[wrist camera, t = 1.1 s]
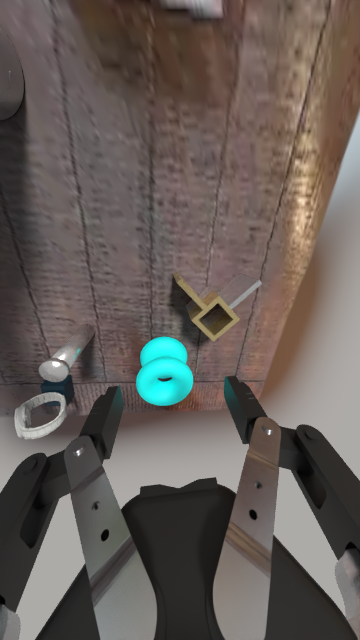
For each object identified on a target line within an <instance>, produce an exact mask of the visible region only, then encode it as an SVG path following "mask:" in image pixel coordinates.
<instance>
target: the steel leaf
mask: <svg viewBox="0 0 360 640" xmlns="http://www.w3.org/2000/svg"><path fill="white" fill-rule="evenodd" d="M261 284H262V283H261V281H260V280H259V279H256V278H253V277H250V276H247V275H245V274H242V273H239V274H238V275H237V276H235V277H234V278H233V279H232V280H231V281H230V282H229V283H228V284H227V285H225V286H224V287H223V288H222V289H221V290H220V291H219V292H218V293H217V294H218V295H219V296H220V297H221V298H222V299H223V301H224V302H225V303H226V304H227V305H228V306H229V308H230V309H231V310H232V309H233V308H234V307H235V306H236V305H237V304H239V303H240V302H241V301H242V300H243V299H244V298H246V297H247V296H248V295H249V294H250V293H251V292H253V291H254V290H255V289H256V288H257V287H258V286H260V285H261ZM211 291H212V289H211V288H210V287H208V286H206V287H205V288H204V289H203V290H202V291H201V292H200V293H199V294H198V296H199V297H200V298H201V300H202V299H203V298H204V297H206V296H207V295H208V294H209V293H210V292H211ZM196 305H197V303H196V302H195V301H194V300H193V299H192V300H191V301H190V302H189V303H188V304H187V305H186V306H185V307H186V309H187V311H188V312H189V311H190V310H191V309H192V308H193V307H195V306H196ZM224 313H225V310H224V309H223V308H222V307H221V306H220V305H219V307H218V308H217V309H216V310H214V311H213V312H212V313H211V314H210V315H209V316H208V317H206V318H205V319H203V318H202V317H201V318H200V319H201V320H202V321H203V322H204V323H205V324H206V325H207V326H208V327H209V326H210V325H211V324H213V323H214V322H215V321H216V320H217V319H218V318H220V317H221V316H222V315H223V314H224Z"/></svg>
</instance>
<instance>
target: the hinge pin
mask: <svg viewBox="0 0 360 640" xmlns="http://www.w3.org/2000/svg"><path fill="white" fill-rule="evenodd" d="M94 334H95V329H94V328H93V327H92V326H91V325H88V324H85V325H82V326H81V327H80V328H79V329H78V330H77V331H76V332H75V333H74V334H73V335H72V337H71V338H70V339H69V340H68V341H67V342H66V343H65V344H64V345H63V346H62V347H61V348H60V349H59V350H58V351H57V352H56V353H55V354H54V355H53V357H52V358H50V359H47V360H46V361H44V362H43V363H42V364H41V366H40V367H39V373H40V375H41V376H42V377H43V378H44V379H46V380H48V381H51V382H60V381H63V380H64V379H65V378H66V377H67V375H68V374H69V372H70V367H71V366H72V365H73V363H74V362H75V360H76V359H77V358H78V356H79V355H80V353H81V352H82V351H83V349H84V348H85V346H86V345H87V344H88V342H89V341H90V340H91V338H92V337H93V335H94Z"/></svg>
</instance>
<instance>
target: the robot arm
mask: <svg viewBox="0 0 360 640" xmlns="http://www.w3.org/2000/svg"><path fill="white" fill-rule="evenodd" d="M23 93H24V79H23V74H22V68H21V65H20V62H19V59H18V56H17V53H16V51H15V49H14V47H13V45H12V43H11V41H10V39H9V38H8V36H7V34H6V33H5V31H4V30H3V28H2V27H1V26H0V120H4V119H8V118H9V117H11V116H12V115H14V114H15V112H16V111H17V110H18V109H19V107H20V104H21V102H22V99H23ZM224 397H225V401H226V403H227V406H228V408H229V410H230V413H231V415H232V418H233V420H234V422H235V425H236V428H237V430H238V433H239V435H240V438H241V440H242V443H243V444H249V449H248V451H247V455H246V459H245V462H244V466H243V470H242V474H241V479H240V482H239V486H238V491H237V494H236V493H235V492H233V491H232V490H230V489H229V488H227V487H225V486H222V485H219V484H217V480H216V477H215V478H207V479H199V480H196V481H194V482H192V483H190V484H188V485H186V486H184V487H181V488H174V487H169V486H165V485H160V484H159V485H151V486H144V487H141V488H140V494H139V495H137V496H135V497H134V498H132V499H131V500H130V501H129V502H127V503H126V504H125V506H123V508H122V509H121V510H120V507H119V505H118V502H117V500H116V497H115V495H114V492H113V490H112V488H111V485H110V483H109V480H108V478H107V475H106V473H105V470H104V468H103V466H102V464H103V460H104V459H110V456H111V453H112V448H113V445H114V441H115V438H116V434H117V430H118V426H119V423H120V419H121V415H122V412H123V398H122V393H121V389H120V386H113V387H108V389H107V391H106V394H105V395H101V396H100V397H99V398H98V399H97V400H96V401H95V403H94V405H93V407H92V409H91V411H90V414H89V416H88V418H87V420H86V422H85V424H84V426H83V428H82V431H81V433H80V435H79V437H78V438H76V439H74V440H73V441H72V442H71V443H70V444H69V445H68V446H67V448H66V449H65V450H63V451H61V452H59V453H57V454H54V455H51V456H49V457H47V456H46V455H45V454H44V453H36V454H33V455H31V456H30V457H28V458H27V459H25V460H24V461H23V462H22V463H21V464H20V465H19V466H18V467H17V468H16V470H15V471H14V473H13V475H12V476H11V477H10V479H9V480H8V482H7V484H6V485H5V487H4V488H3V490H2V492H1V493H0V640H18V639H19V634H20V619H19V617H18V615H17V614H16V613H15V612H16V609H17V607H18V604H19V602H20V599H21V596H22V594H23V591H24V589H25V586H26V583H27V581H28V578H29V576H30V573H31V571H32V568H33V565H34V563H35V560H36V558H37V555H38V553H39V550H40V547H41V545H42V542H43V539H44V537H45V534H46V532H47V529H48V527H49V524H50V521H51V519H52V516H53V514H54V511H55V508H56V506H57V503H58V501H59V498H61V497H62V496H65V495H67V494H69V493H70V494H71V500H72V504H73V509H74V513H75V518H76V523H77V527H78V531H79V536H80V540H81V545H82V549H83V554H84V559H85V564H84V566H83V568H82V569H81V571H80V572H79V573H78V575H77V577H76V578H75V580H74V581H73V583H72V584H71V586H70V587H69V589H68V590H67V592H66V593H65V595H64V596H63V598H62V600H61V601H60V602H59V604H58V606H57V607H56V609H55V610H54V612H53V613H52V615H51V616H50V618H49V619H48V621H47V622H46V624H45V626H44V627H43V628H42V630H41V632H40V633H39V634H38V636H37V637H36V639H35V640H360V481H359V479H358V478H357V477H356V476H355V475H354V474H353V472H352V471H351V470H350V468H349V467H348V466H347V465H346V463H345V462H344V461H343V459H342V458H341V457H340V456H339V454H338V453H337V452H336V451H335V449H334V448H333V447H332V446H331V444H330V443H329V442H328V441H327V440H326V438H325V437H324V436H323V434H322V433H321V432H319V431H318V430H317V429H315V428H313V427H311V426H309V425H299V426H298V427H297V429H296V430H294V429H289V428H285V427H281V426H279V425H278V424H277V423H276V422H275V421H273V420H272V419H270V418H268V417H267V415H266V413H265V412H264V410H263V409H262V407H261V405H260V404H259V402H258V401H257V399H256V397H255V396H254V394H253V392H252V391H251V389H250V388H249V386H247V385H246V384H245V383H244V382H240V383H239V381H238V379H237V377H236V376H227V377H225V383H224ZM279 467H282V468H286V469H290V470H291V471H292V473H293V475H294V477H295V479H296V481H297V483H298V485H299V487H300V489H301V490H302V492H303V494H304V496H305V498H306V500H307V502H308V504H309V506H310V508H311V509H312V512H313V513H314V515H315V517H316V519H317V521H318V523H319V525H320V527H321V529H322V531H323V533H324V534H325V536H326V538H327V540H328V542H329V544H330V546H331V548H332V550H333V551H334V553H335V556H336V557H337V559H338V562H337V563H336V566H335V576H336V581H337V584H338V587H339V589H340V591H341V594H342V597H343V600H344V604H345V610H346V618H345V616H344V615H343V613H342V612H341V611H340V609H339V608H338V607H337V605H336V604H335V603H334V601H333V600H332V599H331V598H330V597H329V596H328V595H327V593H325V591H324V590H323V589H322V588H321V587H320V586H319V585H318V583H316V581H315V580H314V579H313V578H312V577H311V576H310V575H309V574H308V572H307V571H306V570H305V569H304V568H303V567H302V566H301V565H300V563H299V562H298V561H297V560H296V559H295V558H294V557H293V556H292V555H291V553H290V552H289V551H288V550H287V549H286V548H285V547H284V546H283V545H282V544H281V542H280V541H279V540H278V539H277V538H276V537H275V536H274V535H273V532H274V521H275V510H276V498H277V487H278V476H279Z"/></svg>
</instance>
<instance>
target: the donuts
mask: <svg viewBox="0 0 360 640" xmlns="http://www.w3.org/2000/svg"><path fill="white" fill-rule="evenodd" d="M140 362H141V365H142V368H141V370H140V371H139V373H138V375H137V379H136V387H137V391H138V393H139V395H140V396H141V397H142V398H143V399H144V400H145V401H147V402H149V403H151V404H154V405H158V406H168V405H173V404H175V403H178V402H180V401H181V400H183V399H184V398H185V397H186V396H187V395H188V394H189V392H190V391H191V389H192V386H193V375H192V372H191V370H190V368H189V367H188V366H187V365H186V362H187V352H186V349H185V347H184V346H183V344H182V343H181V342H179V341H178V340H176V339H174V338H171V337H158V338H155V339H153V340H151V341H149V342H148V343H147V344H146V345H145V346H144V348H143V349H142V351H141V355H140ZM170 377H172V379H171V380H169V381H166V382H163V381H159V380H158V379H157V378H170Z"/></svg>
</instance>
